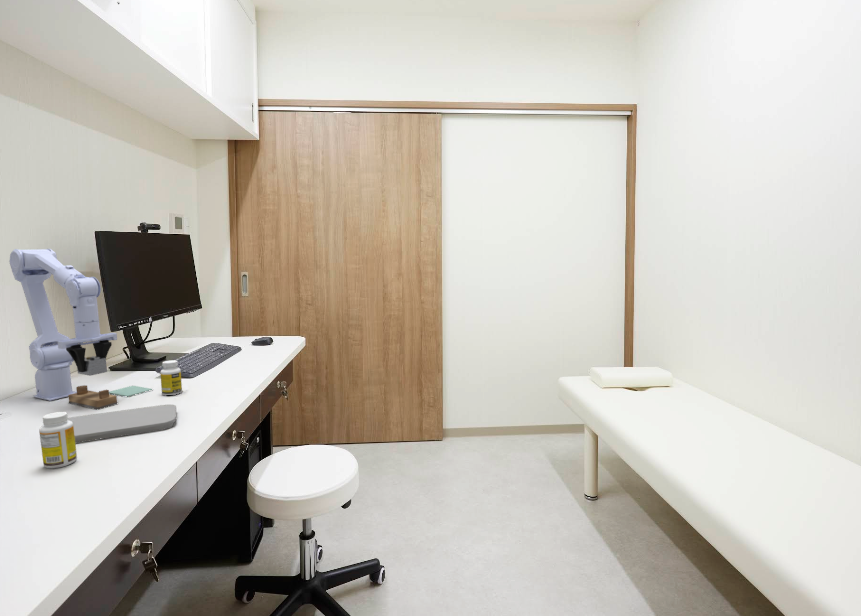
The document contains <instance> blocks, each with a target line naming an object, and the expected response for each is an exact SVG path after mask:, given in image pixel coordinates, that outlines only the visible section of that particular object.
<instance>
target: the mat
mask: <svg viewBox="0 0 861 616" xmlns="http://www.w3.org/2000/svg"><path fill="white" fill-rule="evenodd" d="M152 389H153V388H149V387H145V386H138V385H129V386H126V387H123V388H122V387H121V388H117V389H114V390H109V393H110V395H113V394H115V396H118V395H121V396H120V397H123V396H127V397H126V398H129V397H128V396H130V397H133V396H132V395H134V396H136V395H135V394H138V395H140V394H139V393H141V394H143V393H142V392H145V391H149V390H152ZM152 391H153V390H152ZM149 392H150V391H149ZM145 393H146V392H145Z"/></svg>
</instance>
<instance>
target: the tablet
mask: <svg viewBox="0 0 861 616" xmlns="http://www.w3.org/2000/svg"><path fill="white" fill-rule="evenodd" d="M68 421H71V422H72V423H73V427H74V436H75V444H77V443H76V442H79V443H83V442H82V441H86V442H90V441H89V440H92V441H96V440H95V439H99V440H101V439H100V438H105V439H109V438H108V437H112V438H116V437H115V436H118V437H124V436H123V435H125V436H132V435H137V434H143V433H144V434H145V433H150V432H156V431H162V430H168V429H169V428H172V427H173V426H174V422H176V421H177V405H175V404H159V405H154V406H153V405H151V406H145V407H138V408H137V407H135V408H131V409H129V408H128V409H122V410H116V411H108V412H107V411H106V412H100V413H92V414H85V415H78V416H70V417H68ZM121 435H122V436H121Z"/></svg>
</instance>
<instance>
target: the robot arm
mask: <svg viewBox="0 0 861 616" xmlns="http://www.w3.org/2000/svg"><path fill="white" fill-rule="evenodd" d="M8 262H9V266H10V269H11V272H12V275H13V278H14V280H16V281H17V282H20V284H21V286H22V290H23V293H24V296H25V300H26V303H27V306H28V309H29V313H30V317H31V320H32V322H33V326H34V328H35V332H36V335H37V337H36V338H35V339H34V340H32V341H31V343H30V344H29V345H28V349H29V359H30V363H31V365H32V366H33V367H34V368H36V369H37V371H36V372H35V373H34V380H35V381H34V382H35V383H34V384H35V388H36V389H35V390H36V391H35V392H36V394H34V395H33V398H36V399H40V400H46V401H54V400H55V401H56V400H59V399H62V398H67V397H68V398H69V396H68V395H70V394H74V393H77V391H75V390H73V385H72V377H71V367H70V366H72V365H73V363H75V365H76V369H77V368H78V371H79V372H85V358H86V357H85V356H86V347H83V346H86V345H91V344H92V346H93V350H94V353H95V356H97V357H102V358H106V359H107V356H108V354H109V351H110V349H111V348H112V345H113V344H112V341H117V340H118V333H117V332H109V333H108V332H107V333H101V327H100V325H101V324H100V316H99V307H98V298H99V296H100V295H101V291H102V287H101V283H100V282H99V280H98V278H97V277H95V276H89V277H88V276H85V275H84V274H83V273H82V272H80V271H79V270H77V269H75V267H74V266H73V265H71V264H69V265H64V264H63V263H62V262H61V261H59V260H58V256H57V252H56V251H54V250H53V249H52V248H43V249H42V248H40V249H39V248H37V249H31V248H30V249H19V248H14V249H13V250H12V251H11V253H10V255H9V261H8ZM52 275H53V280H54V281H55V282H56V283H57V284H58V285H59V286H61V287H62V288H64V289H65V293H66V295H67V297H68V300H69V304H70V306H71V307H72V312H73V313H72V316H73V324H74V333H75V337H74V338H70V336H67V335H65V334H62V333H60V332H59V330H58V326H57V324H56V321H55V317H54V314H53V311H52V307H51V305H50V302H49V301H50V300H49V299H48V295H47V292H46V288H45V285H44V281H46V280H49V279H50V278H51V276H52ZM78 371H77V372H78Z"/></svg>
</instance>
